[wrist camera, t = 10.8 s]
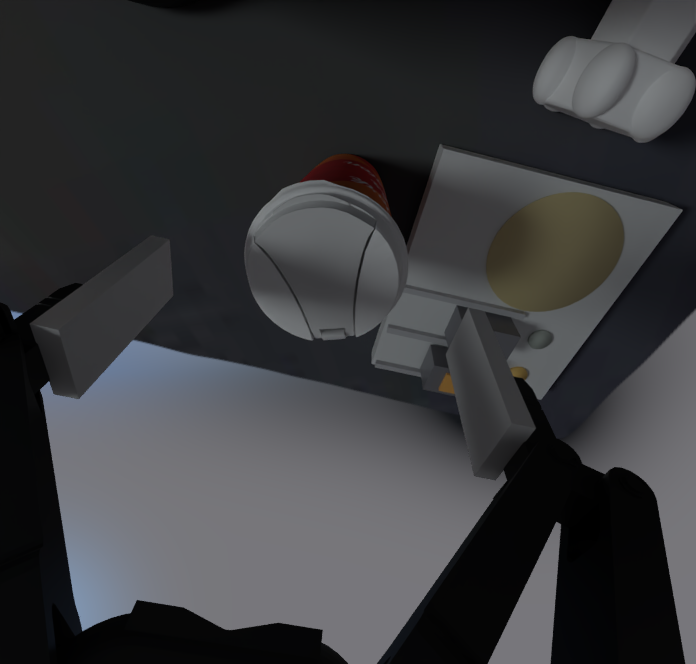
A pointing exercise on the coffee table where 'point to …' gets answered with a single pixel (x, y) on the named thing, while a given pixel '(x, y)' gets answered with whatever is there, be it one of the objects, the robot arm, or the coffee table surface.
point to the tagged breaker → (436, 371)
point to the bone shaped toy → (624, 69)
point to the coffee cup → (328, 253)
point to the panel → (516, 262)
